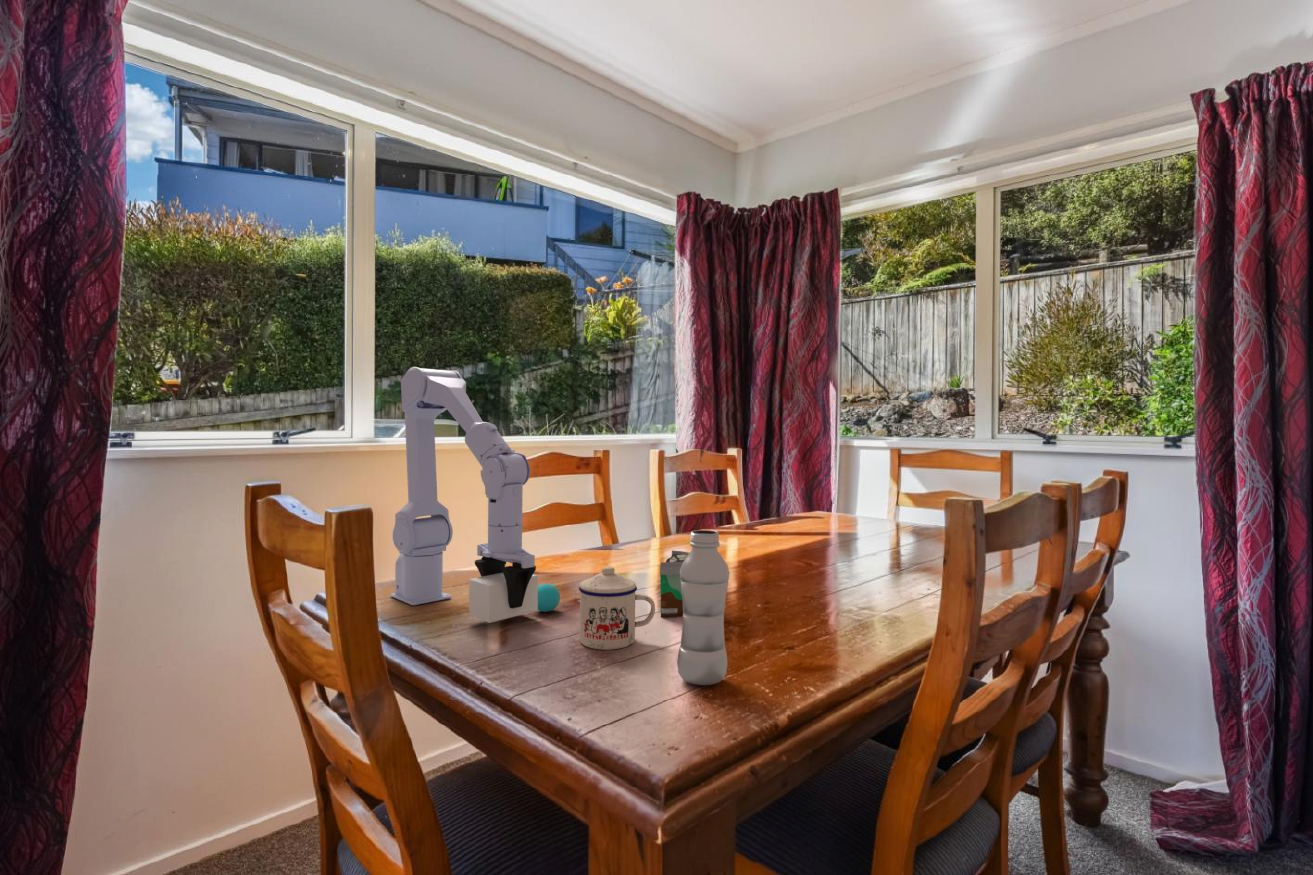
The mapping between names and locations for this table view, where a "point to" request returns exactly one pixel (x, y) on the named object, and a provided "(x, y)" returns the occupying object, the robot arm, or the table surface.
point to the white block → (498, 598)
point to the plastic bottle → (703, 611)
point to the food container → (672, 585)
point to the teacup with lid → (609, 611)
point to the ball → (547, 597)
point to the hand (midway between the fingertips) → (504, 603)
